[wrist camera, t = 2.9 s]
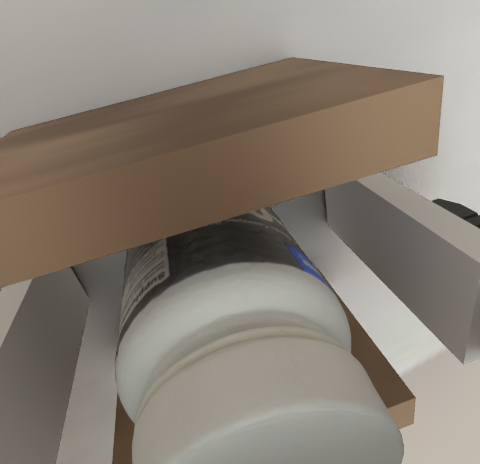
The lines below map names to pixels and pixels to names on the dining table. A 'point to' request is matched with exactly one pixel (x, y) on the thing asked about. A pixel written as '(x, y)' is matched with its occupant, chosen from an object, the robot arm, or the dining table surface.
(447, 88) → the dining table surface
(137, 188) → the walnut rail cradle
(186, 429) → the pill bottle
